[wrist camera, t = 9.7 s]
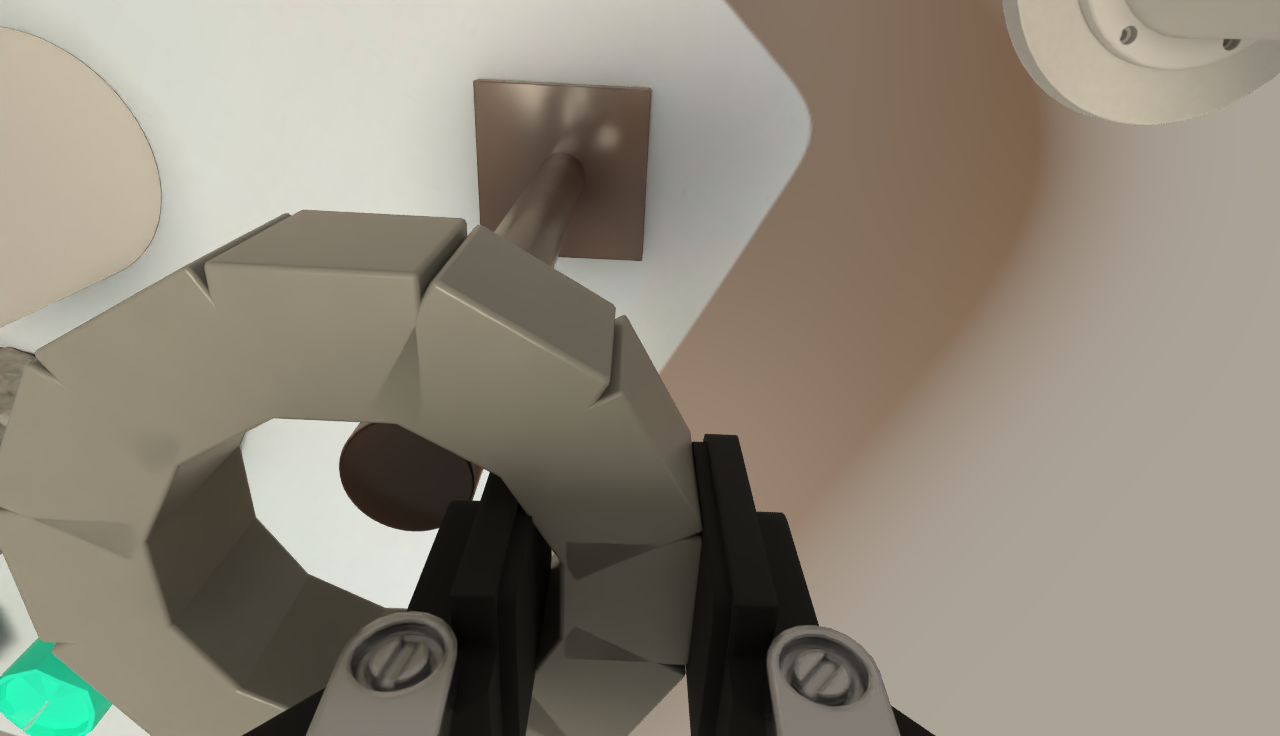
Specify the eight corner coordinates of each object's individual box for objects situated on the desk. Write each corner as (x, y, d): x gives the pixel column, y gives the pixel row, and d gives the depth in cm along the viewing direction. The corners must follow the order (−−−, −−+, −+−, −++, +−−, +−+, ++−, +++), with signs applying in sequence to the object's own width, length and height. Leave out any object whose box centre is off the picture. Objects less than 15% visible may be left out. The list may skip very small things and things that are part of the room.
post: (650, 88, 37) (681, 241, 11) (641, 255, 41) (647, 670, 14) (477, 78, 37) (69, 212, 10) (485, 247, 41) (203, 654, 14)
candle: (198, 618, 53) (85, 770, 42) (115, 609, 53) (-20, 760, 42) (189, 557, 50) (66, 701, 40) (101, 546, 50) (-47, 690, 39)
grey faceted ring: (714, 230, 10) (737, 290, 8) (667, 689, 14) (673, 817, 12) (44, 195, 10) (-135, 245, 8) (193, 672, 14) (105, 800, 12)
